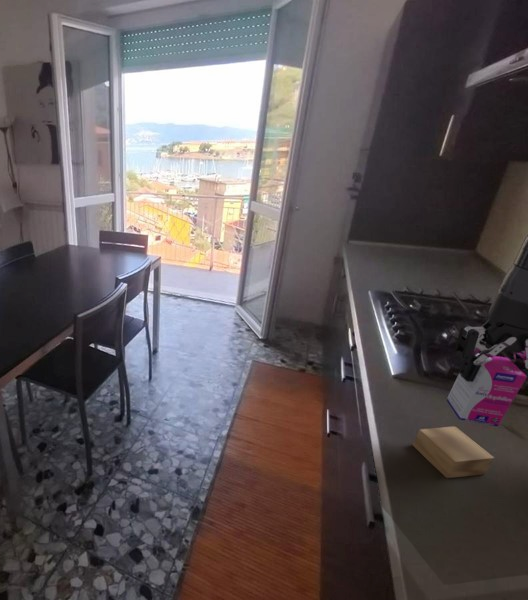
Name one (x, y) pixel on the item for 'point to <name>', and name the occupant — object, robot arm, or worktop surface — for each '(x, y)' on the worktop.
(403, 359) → the worktop surface
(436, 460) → the maple block
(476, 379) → the supplement box
